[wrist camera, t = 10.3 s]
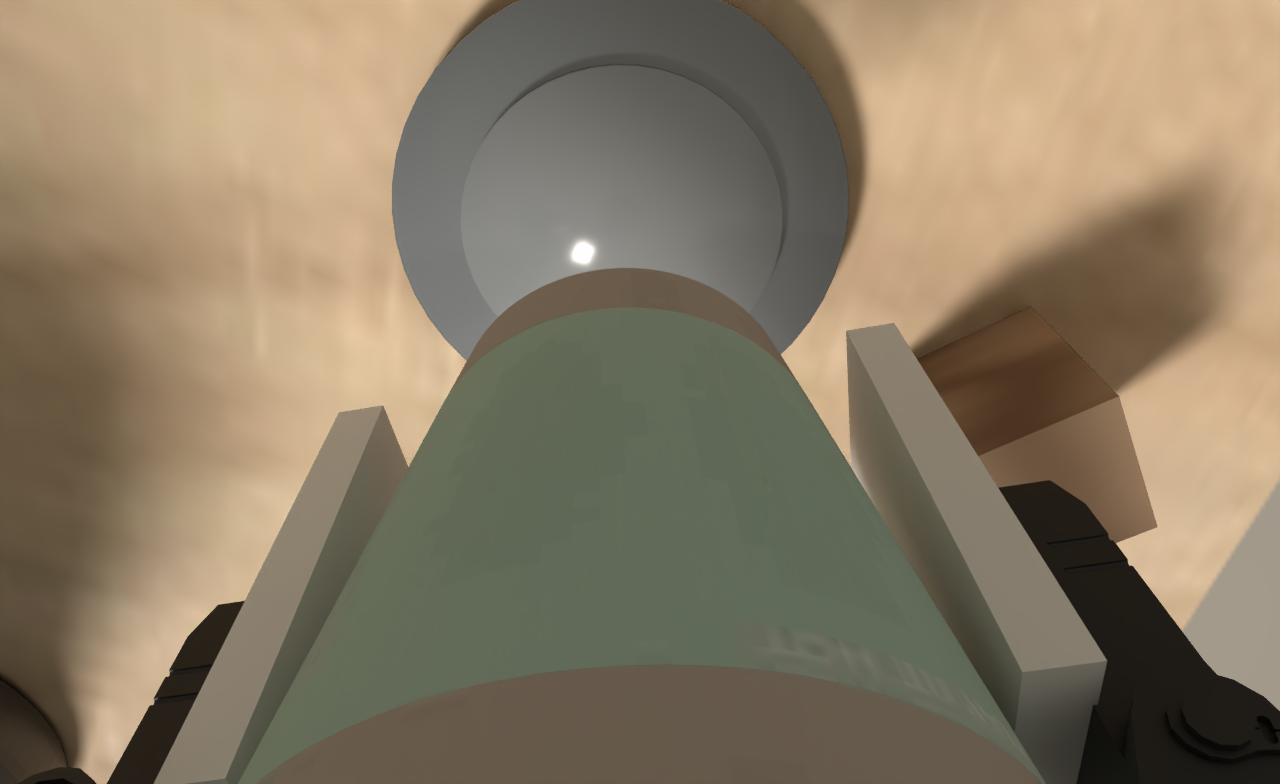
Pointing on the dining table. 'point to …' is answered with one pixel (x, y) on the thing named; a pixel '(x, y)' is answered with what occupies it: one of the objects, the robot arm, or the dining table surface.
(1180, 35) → the dining table surface
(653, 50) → the saucer
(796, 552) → the coffee cup
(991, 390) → the walnut block
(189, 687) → the robot arm
